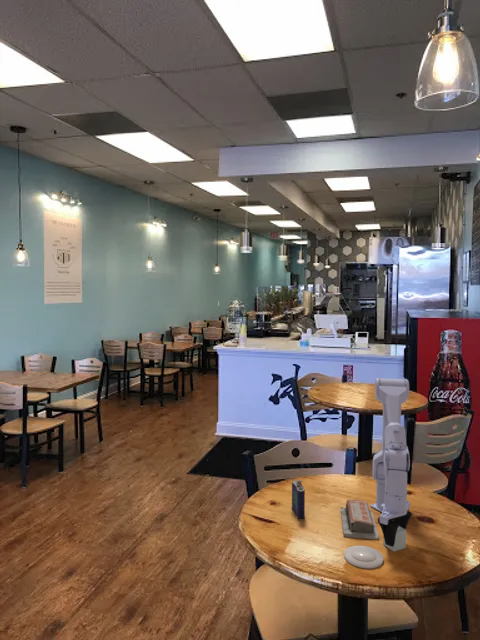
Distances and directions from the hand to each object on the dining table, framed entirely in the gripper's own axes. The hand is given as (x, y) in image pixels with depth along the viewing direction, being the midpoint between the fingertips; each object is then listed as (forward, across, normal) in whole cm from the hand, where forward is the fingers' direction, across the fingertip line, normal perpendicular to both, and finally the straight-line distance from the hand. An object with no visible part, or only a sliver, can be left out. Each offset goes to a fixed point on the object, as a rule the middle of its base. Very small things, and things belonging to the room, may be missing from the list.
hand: (394, 541), depth 135 cm
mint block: (+1, 0, 0) cm, 1 cm away
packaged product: (+2, -5, -14) cm, 15 cm away
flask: (+2, +1, -31) cm, 31 cm away
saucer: (+1, +12, -3) cm, 12 cm away
